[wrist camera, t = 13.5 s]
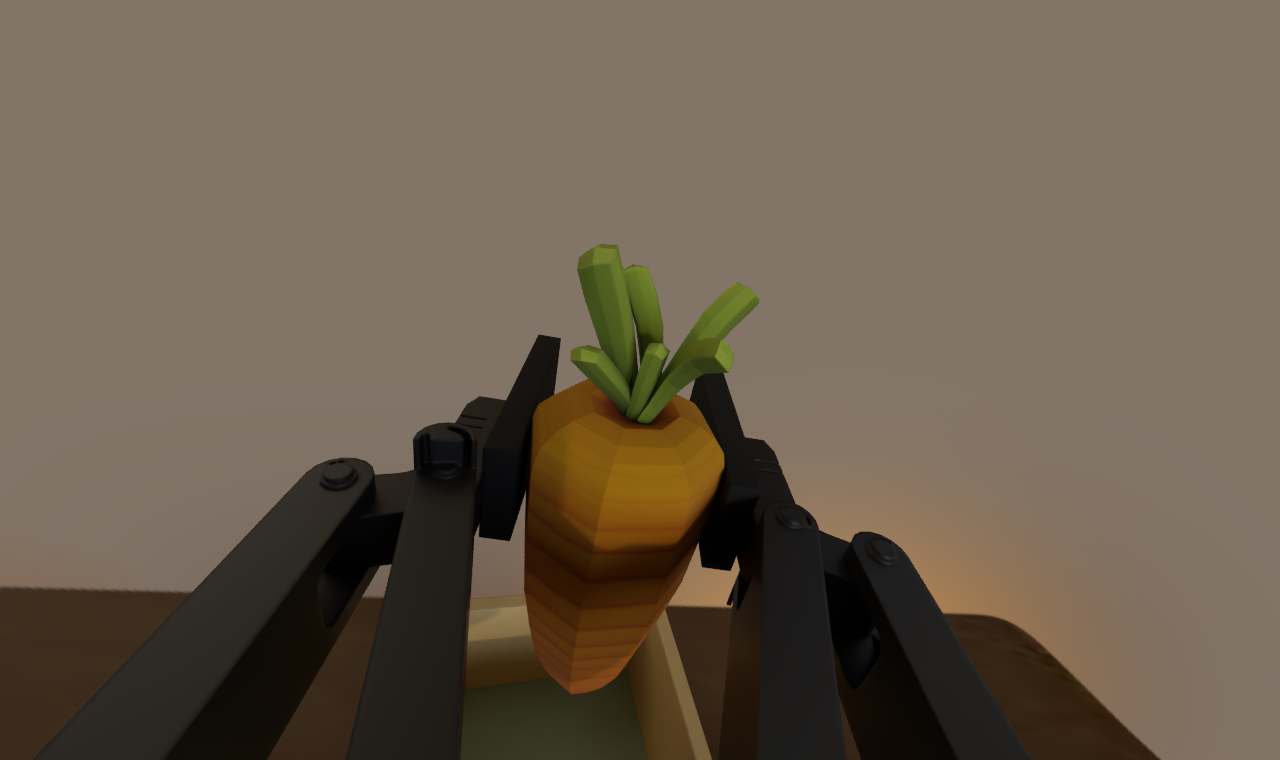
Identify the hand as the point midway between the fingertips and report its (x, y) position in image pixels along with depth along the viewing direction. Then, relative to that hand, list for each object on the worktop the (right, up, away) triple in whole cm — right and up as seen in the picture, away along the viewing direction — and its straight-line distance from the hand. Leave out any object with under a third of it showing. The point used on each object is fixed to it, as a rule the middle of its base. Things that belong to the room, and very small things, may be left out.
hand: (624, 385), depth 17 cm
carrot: (-2, -10, 0) cm, 11 cm away
